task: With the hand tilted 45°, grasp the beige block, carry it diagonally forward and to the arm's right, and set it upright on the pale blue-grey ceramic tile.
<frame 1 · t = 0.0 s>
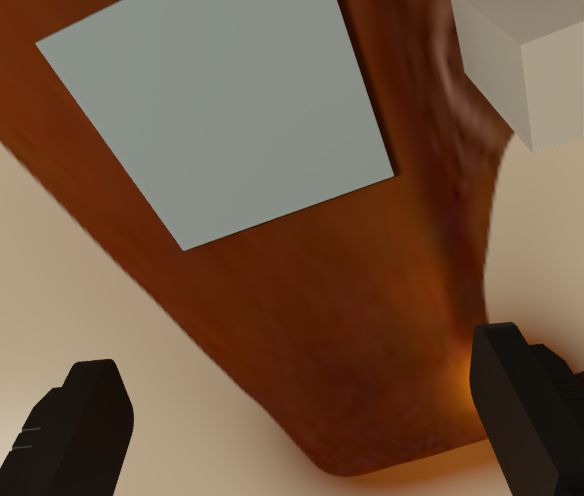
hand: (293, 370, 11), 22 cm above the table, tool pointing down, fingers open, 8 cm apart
tile: (232, 112, 31), on the table
beige block: (502, 13, 28), on the table
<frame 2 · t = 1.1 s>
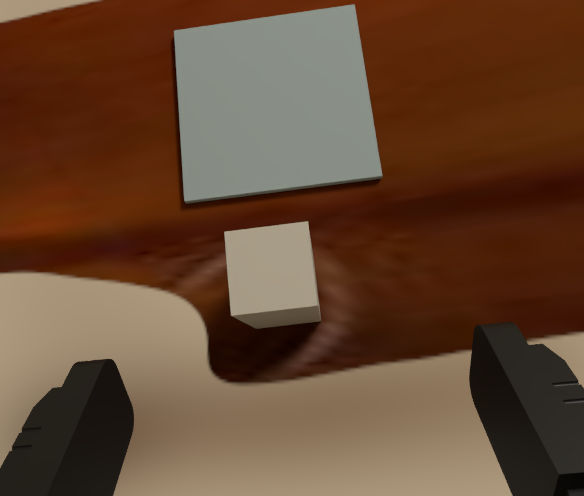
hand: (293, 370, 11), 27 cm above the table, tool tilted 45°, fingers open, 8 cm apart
tile: (273, 102, 43), on the table
beige block: (285, 292, 39), on the table
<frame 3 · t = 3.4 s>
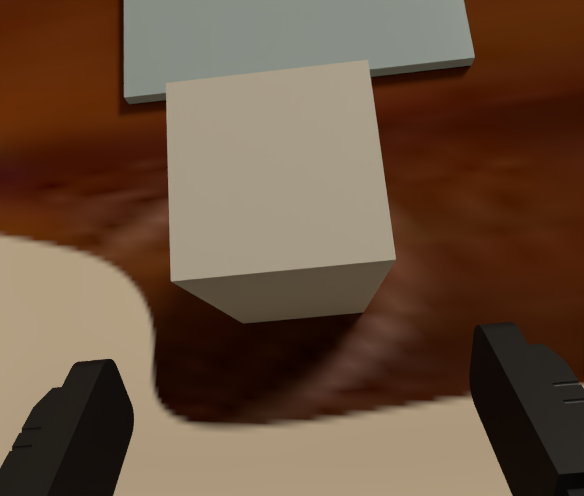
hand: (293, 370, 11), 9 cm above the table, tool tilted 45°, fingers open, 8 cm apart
beige block: (297, 259, 21), on the table
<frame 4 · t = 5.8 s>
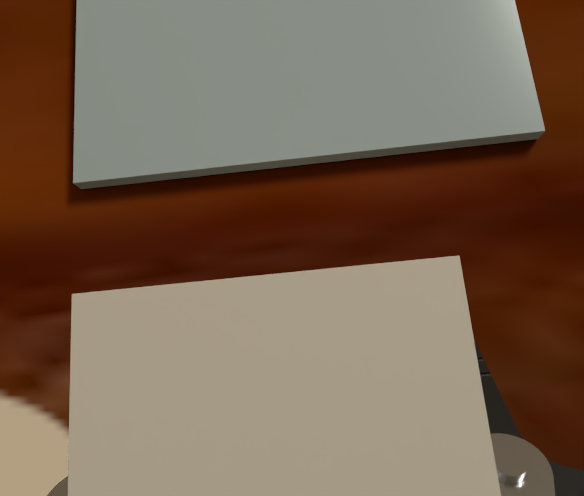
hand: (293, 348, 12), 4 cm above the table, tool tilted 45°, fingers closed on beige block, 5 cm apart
beige block: (308, 414, 15), on the table, touching gripper
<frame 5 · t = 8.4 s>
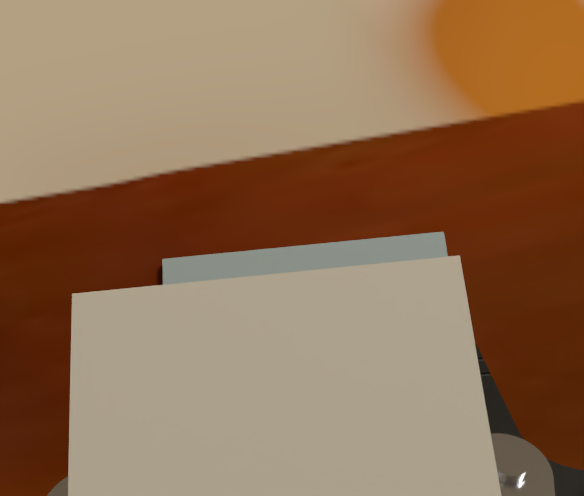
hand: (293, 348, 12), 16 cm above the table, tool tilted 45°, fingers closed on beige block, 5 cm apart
tile: (314, 391, 27), on the table
beige block: (308, 414, 15), point 12 cm above the table, touching gripper
when the fingers open (6 cm above the table, at t = 11.1 s): beige block drops 1 cm, resting on tile.
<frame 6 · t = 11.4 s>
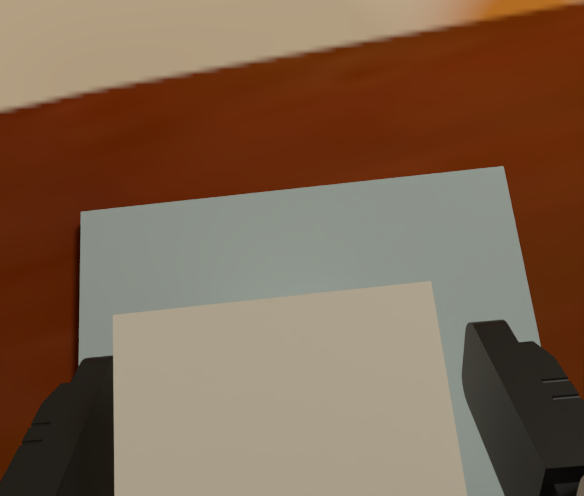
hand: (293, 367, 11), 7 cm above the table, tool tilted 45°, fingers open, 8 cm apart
tile: (309, 410, 17), on the table
beige block: (308, 413, 17), point 1 cm above the table, touching tile
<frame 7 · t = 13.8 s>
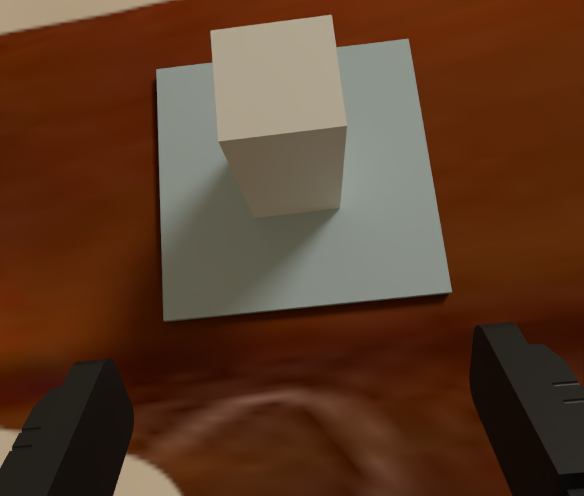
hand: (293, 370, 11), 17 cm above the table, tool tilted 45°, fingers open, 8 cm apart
tile: (293, 175, 30), on the table
beige block: (292, 173, 30), point 1 cm above the table, touching tile
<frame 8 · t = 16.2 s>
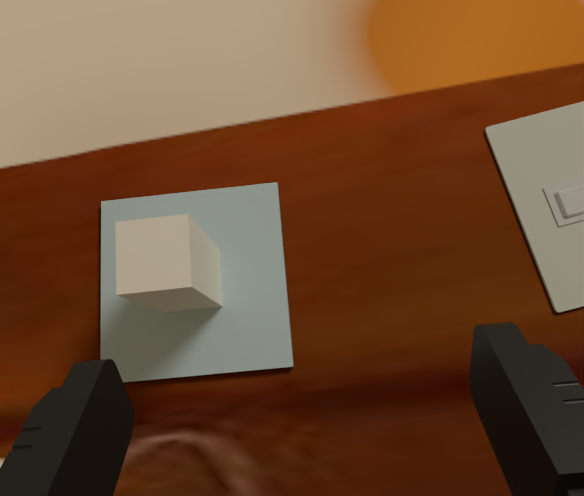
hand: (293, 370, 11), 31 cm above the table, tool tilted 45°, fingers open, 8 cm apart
light switch: (570, 204, 44), on the table
tile: (193, 280, 43), on the table
beige block: (191, 280, 43), point 1 cm above the table, touching tile
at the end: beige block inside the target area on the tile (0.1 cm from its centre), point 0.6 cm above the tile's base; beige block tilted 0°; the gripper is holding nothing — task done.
